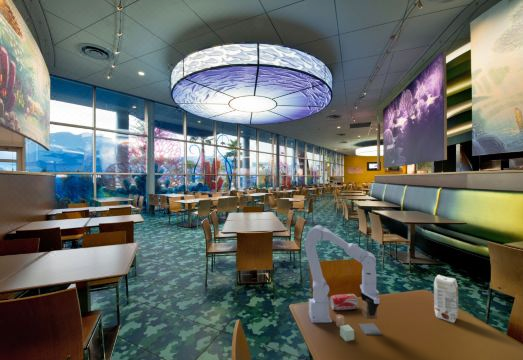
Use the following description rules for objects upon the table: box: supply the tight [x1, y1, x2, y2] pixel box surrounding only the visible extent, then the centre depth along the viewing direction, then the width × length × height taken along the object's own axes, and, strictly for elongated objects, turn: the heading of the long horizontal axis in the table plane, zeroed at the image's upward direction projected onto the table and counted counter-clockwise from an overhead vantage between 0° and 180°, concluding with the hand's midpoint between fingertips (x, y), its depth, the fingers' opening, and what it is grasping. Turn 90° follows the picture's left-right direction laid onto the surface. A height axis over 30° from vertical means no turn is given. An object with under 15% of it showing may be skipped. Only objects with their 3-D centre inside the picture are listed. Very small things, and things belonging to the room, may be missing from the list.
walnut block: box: [361, 299, 378, 320], centre depth 105 cm, size 4×4×6 cm
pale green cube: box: [339, 324, 355, 342], centre depth 100 cm, size 4×4×4 cm
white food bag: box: [433, 274, 459, 324], centre depth 114 cm, size 8×9×19 cm
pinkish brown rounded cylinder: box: [335, 313, 345, 329], centre depth 108 cm, size 4×4×4 cm
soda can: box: [329, 293, 359, 311], centre depth 123 cm, size 7×7×13 cm
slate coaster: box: [358, 323, 383, 336], centre depth 105 cm, size 7×7×1 cm
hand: (369, 312), depth 105 cm, fingers closed on walnut block, 4 cm apart
